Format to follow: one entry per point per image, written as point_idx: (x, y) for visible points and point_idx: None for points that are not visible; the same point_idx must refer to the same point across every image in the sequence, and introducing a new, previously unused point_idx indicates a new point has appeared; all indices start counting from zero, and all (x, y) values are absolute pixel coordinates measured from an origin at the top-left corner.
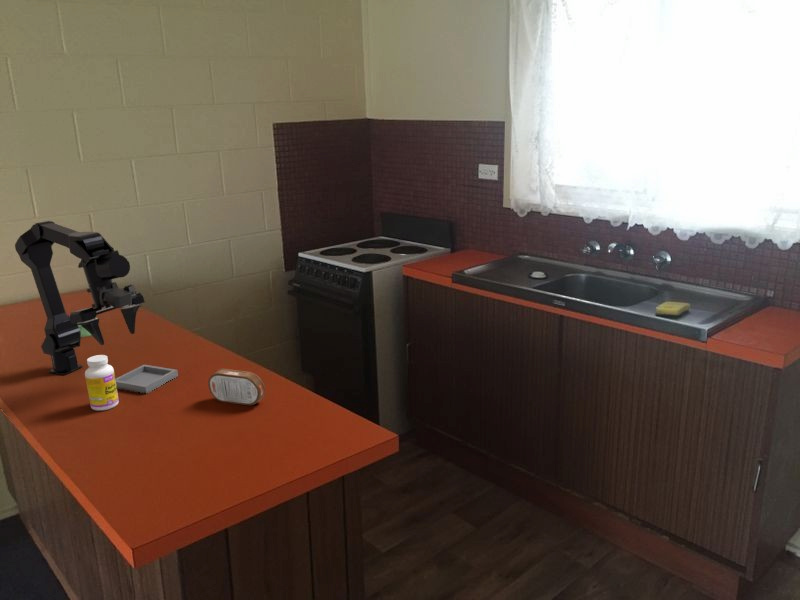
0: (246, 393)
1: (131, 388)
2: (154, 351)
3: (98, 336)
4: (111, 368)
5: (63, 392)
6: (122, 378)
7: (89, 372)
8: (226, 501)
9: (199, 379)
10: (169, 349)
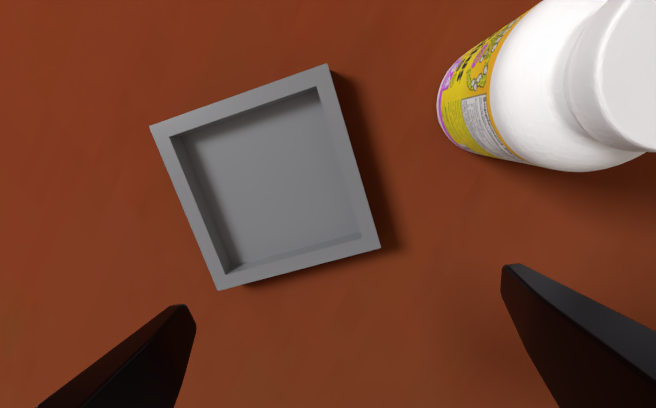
0: None
1: (351, 145)
2: None
3: (629, 324)
4: (547, 11)
5: (500, 339)
6: (334, 243)
7: None
8: None
9: (119, 24)
10: None
